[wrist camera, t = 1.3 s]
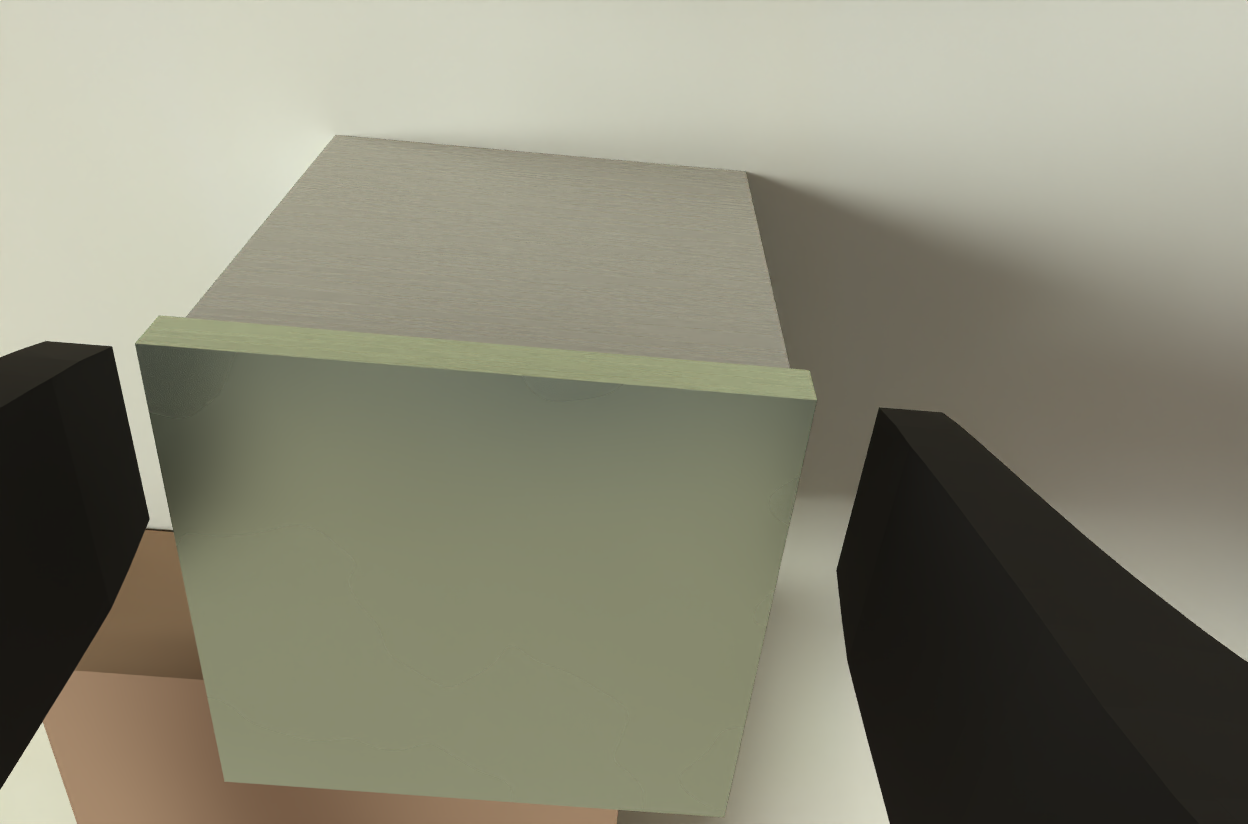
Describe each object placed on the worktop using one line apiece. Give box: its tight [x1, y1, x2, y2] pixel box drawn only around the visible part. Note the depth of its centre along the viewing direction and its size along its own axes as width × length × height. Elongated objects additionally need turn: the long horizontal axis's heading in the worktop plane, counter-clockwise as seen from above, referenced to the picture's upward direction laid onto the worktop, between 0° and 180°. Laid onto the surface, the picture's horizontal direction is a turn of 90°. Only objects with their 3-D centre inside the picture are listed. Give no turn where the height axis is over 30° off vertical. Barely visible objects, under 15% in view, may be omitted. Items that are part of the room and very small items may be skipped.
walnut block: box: [43, 530, 618, 824], centre depth 15 cm, size 7×7×2 cm
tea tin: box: [135, 135, 817, 817], centre depth 10 cm, size 5×5×5 cm
